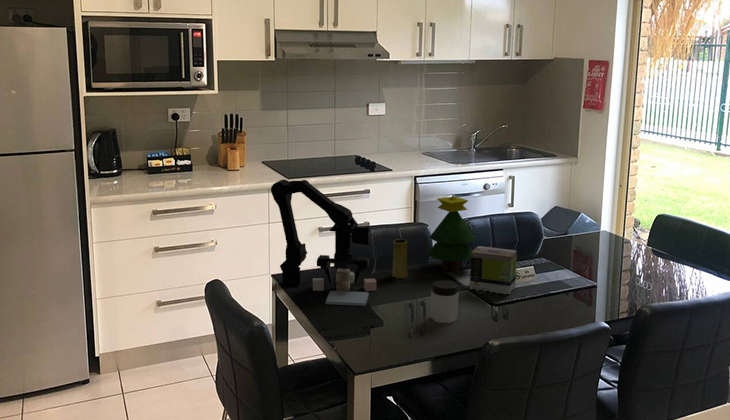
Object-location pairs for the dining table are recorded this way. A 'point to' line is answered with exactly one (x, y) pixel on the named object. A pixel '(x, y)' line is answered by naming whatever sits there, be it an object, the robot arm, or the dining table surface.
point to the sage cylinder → (351, 277)
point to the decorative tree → (452, 236)
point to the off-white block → (318, 284)
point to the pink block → (370, 284)
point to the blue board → (347, 298)
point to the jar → (444, 302)
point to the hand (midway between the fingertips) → (343, 283)
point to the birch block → (343, 280)
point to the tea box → (493, 269)
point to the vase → (400, 259)
